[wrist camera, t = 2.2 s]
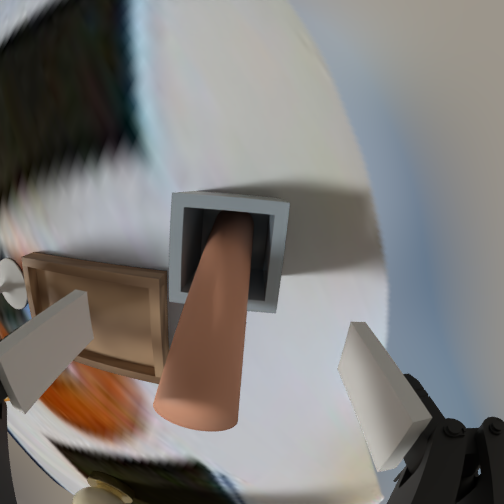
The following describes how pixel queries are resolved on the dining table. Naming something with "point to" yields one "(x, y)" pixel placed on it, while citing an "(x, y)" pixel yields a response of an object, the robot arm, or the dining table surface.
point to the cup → (198, 230)
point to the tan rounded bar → (211, 333)
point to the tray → (108, 310)
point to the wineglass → (12, 283)
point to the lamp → (104, 491)
